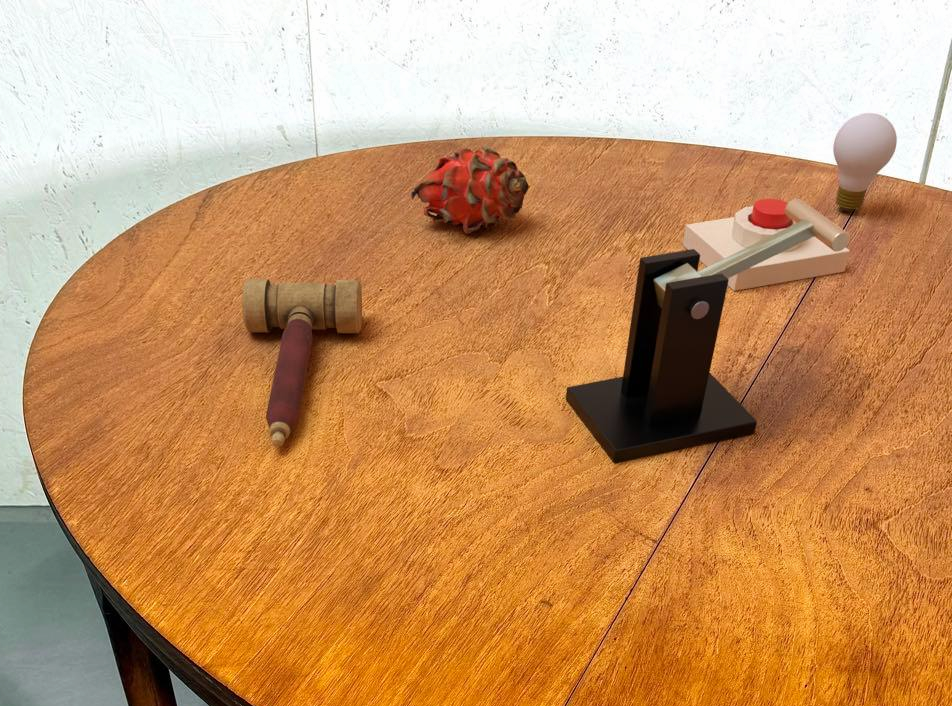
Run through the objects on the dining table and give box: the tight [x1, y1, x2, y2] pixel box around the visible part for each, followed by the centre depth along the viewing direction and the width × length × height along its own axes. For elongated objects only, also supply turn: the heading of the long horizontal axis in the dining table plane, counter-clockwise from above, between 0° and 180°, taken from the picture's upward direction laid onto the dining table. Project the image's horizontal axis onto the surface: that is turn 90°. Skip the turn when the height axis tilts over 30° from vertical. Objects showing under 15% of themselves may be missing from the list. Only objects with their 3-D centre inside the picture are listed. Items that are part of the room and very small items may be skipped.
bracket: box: [565, 249, 758, 464], centre depth 80 cm, size 12×9×13 cm
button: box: [750, 198, 791, 230], centre depth 101 cm, size 4×4×2 cm
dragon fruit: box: [410, 146, 531, 235], centre depth 108 cm, size 8×8×12 cm
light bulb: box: [832, 112, 898, 213], centre depth 109 cm, size 6×6×10 cm
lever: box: [653, 198, 851, 309], centre depth 77 cm, size 13×6×2 cm, turn 107°
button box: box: [682, 205, 851, 292], centre depth 103 cm, size 12×10×4 cm
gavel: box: [241, 278, 363, 448], centre depth 87 cm, size 21×5×10 cm
